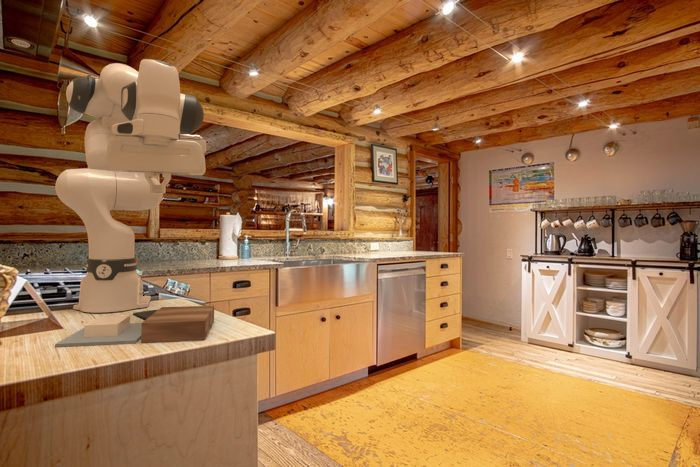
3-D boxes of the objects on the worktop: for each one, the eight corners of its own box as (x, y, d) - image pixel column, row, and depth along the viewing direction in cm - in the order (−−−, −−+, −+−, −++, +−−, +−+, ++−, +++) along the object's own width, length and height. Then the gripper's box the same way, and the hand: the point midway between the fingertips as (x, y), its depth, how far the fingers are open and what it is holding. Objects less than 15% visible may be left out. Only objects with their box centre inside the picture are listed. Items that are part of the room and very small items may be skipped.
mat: (89, 327, 87) (89, 324, 87) (155, 324, 90) (155, 322, 90) (55, 347, 72) (55, 344, 72) (135, 343, 76) (135, 340, 76)
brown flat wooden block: (161, 323, 91) (161, 307, 91) (213, 321, 94) (214, 305, 94) (141, 343, 76) (141, 323, 76) (204, 340, 79) (205, 320, 78)
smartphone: (160, 308, 106) (183, 316, 96) (160, 312, 106) (183, 320, 96) (131, 312, 101) (153, 321, 91) (131, 316, 101) (152, 325, 91)
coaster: (130, 315, 86) (129, 326, 86) (100, 316, 84) (100, 327, 84) (117, 324, 78) (117, 336, 78) (84, 325, 77) (84, 337, 77)
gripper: (208, 138, 92) (207, 195, 92) (114, 132, 87) (113, 192, 87) (205, 132, 85) (204, 193, 86) (103, 124, 81) (102, 189, 81)
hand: (157, 193), depth 86 cm, fingers closed
